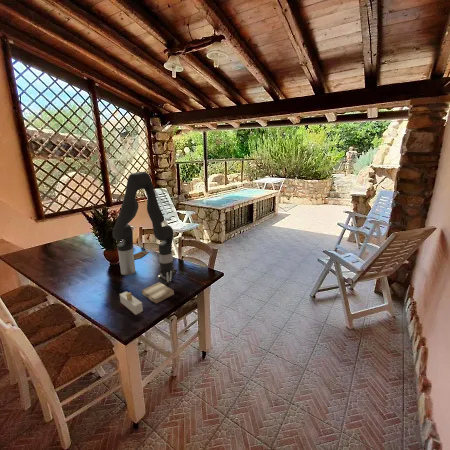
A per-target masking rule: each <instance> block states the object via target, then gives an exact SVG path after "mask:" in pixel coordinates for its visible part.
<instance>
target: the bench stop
mask: <svg viewBox="0 0 450 450" xmlns="http://www.w3.org/2000/svg"><path fill="white" fill-rule="evenodd" d="M119 299H120V300H119V301H120V303H121V304H122V305H123V306H124V307H125V308H127V309H128V310H129V311H130V312H131V313H133V314H134V315H135V316H137V315H139V314H140V313H143V311H144V309H143V302H142V301H140V300H139V299H137V298H136V297H135V296H134V295H132V292H128V291H124V292H122V293H119Z"/></svg>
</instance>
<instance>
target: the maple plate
mask: <svg viewBox="0 0 450 450" xmlns="http://www.w3.org/2000/svg"><path fill="white" fill-rule="evenodd" d="M141 295H143V296H144V297H145V298H147V299H149V300H150V301H151V302H153V303H154V304H158V303H160V302H162V301H163V300H166V299H169V298H170V297H172V296H174V295H175V292H174V290H173V289H172V288H170V287H167V286H166V284H164V283H162V282H161V281H159V282H157V283H155V284H152V285H150V286H148V287H146V288H143V289H141Z"/></svg>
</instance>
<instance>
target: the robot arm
mask: <svg viewBox="0 0 450 450" xmlns="http://www.w3.org/2000/svg"><path fill="white" fill-rule="evenodd" d="M126 181H127V182H126V187H125V193H124V196H123V201H122V204H121V207H120V211H119V214H118V216H117V220H116V221H115V224H114V226H113V227H112V228H113V229H112V237H113V239H114V240H115V241H121V242H120V243H119V244H117V253H118V258H119V259H118V260H119V261H118V262H119V266H120V274H121V275H123V276H131V275H133V274H135V273H136V264H135V263H136V262H135V259H134V255H135V253H134V237H133V236H134V235H133V229H132V226H131V225H130V224H129V223H131V221H132V220H133V219H134V218H135V217H136V215H137V213H138V211H139V202H138V200H137V198H136V197H137V193H138V192H139V191H140V190H144V191H145V192H146V193H145V194H146V196H147V203H146V211H147V214H148V216H149V219H150V222H151V224H152V229H153V235H154V237H155V238H156V240H158V241H161V242H160V243H159V244H158V251H159V252H158V253H159V254H158V259H159V270H160V273H159V275H158V274H157V276H156V278H158V279H159V280H160V281H161V282H163V283H165V284H164V285H165V286H167V287H169V288H170V287H171V286H172V280H173V279H174V278H175V276H176V274H177V271H178V269H176V268H174V257H173V249H172V245H173V239H174V229H173V228H172V226H171V225H168V224H167V225H166V224H165V225H163V226H162V223H163V222H165V216H164V214H163V212H162V210H161V208H160V205H159V202H158V198H157V196H156V192H155V188H154V184H153V181H152V179H151V175H150V174H149V173H148V172H146V171H138V172H132V173H130V174H129V175H128V178H127V180H126Z"/></svg>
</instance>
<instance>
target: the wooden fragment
mask: <svg viewBox="0 0 450 450" xmlns="http://www.w3.org/2000/svg"><path fill="white" fill-rule="evenodd" d="M147 254H149V251H139V252H137V253H134V260H137V259H142V258H143V257H144V256H146V255H147Z"/></svg>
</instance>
